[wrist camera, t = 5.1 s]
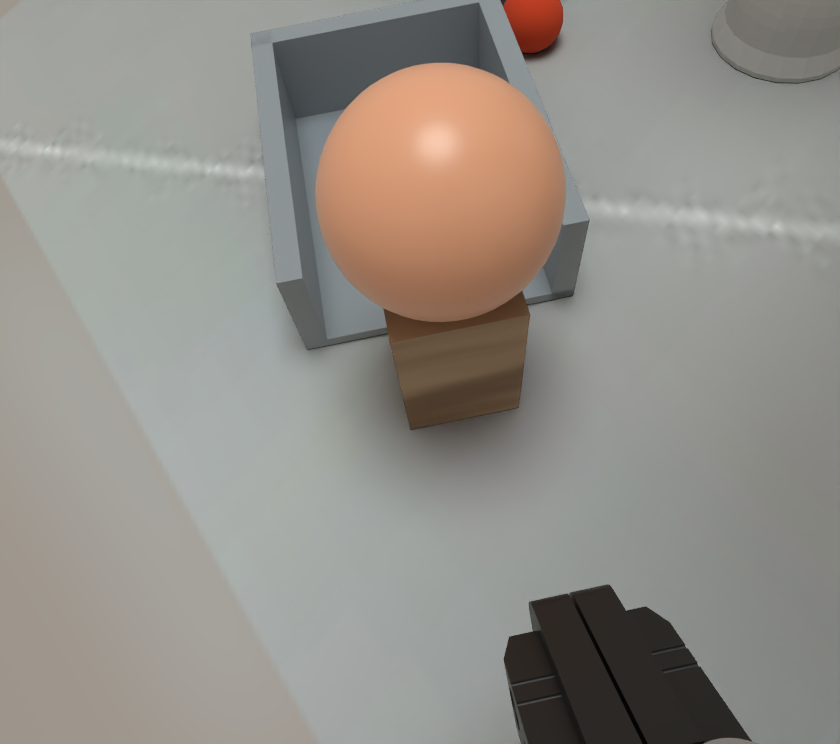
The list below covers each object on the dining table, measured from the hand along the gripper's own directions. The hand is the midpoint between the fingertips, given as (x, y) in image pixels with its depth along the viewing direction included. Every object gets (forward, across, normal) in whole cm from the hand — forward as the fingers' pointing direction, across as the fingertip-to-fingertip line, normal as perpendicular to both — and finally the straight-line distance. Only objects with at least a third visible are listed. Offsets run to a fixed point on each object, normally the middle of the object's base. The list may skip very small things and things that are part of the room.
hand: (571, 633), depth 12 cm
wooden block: (+17, 0, 0) cm, 17 cm away
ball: (+9, 0, -8) cm, 12 cm away
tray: (+24, 0, -7) cm, 25 cm away
